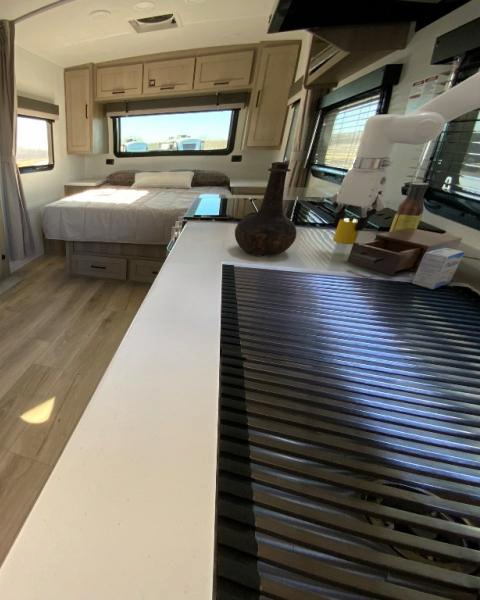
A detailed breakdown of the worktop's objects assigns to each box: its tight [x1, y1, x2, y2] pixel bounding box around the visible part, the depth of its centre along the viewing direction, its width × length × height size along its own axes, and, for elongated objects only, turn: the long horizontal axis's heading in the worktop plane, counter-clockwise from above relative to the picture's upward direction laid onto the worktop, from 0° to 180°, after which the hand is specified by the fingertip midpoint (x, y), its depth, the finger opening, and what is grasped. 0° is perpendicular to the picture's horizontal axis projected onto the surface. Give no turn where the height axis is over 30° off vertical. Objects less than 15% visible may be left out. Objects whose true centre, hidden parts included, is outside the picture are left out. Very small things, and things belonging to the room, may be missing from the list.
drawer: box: [346, 239, 424, 276], centre depth 93 cm, size 19×11×6 cm, turn 111°
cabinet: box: [374, 228, 463, 273], centre depth 97 cm, size 16×13×8 cm
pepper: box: [332, 214, 360, 245], centre depth 102 cm, size 6×6×8 cm
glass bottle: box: [234, 161, 298, 257], centre depth 104 cm, size 18×18×28 cm
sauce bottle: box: [388, 182, 429, 232], centre depth 107 cm, size 7×6×20 cm
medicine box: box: [411, 248, 466, 290], centre depth 83 cm, size 8×4×9 cm, turn 114°
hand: (348, 227), depth 101 cm, fingers closed on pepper, 5 cm apart
